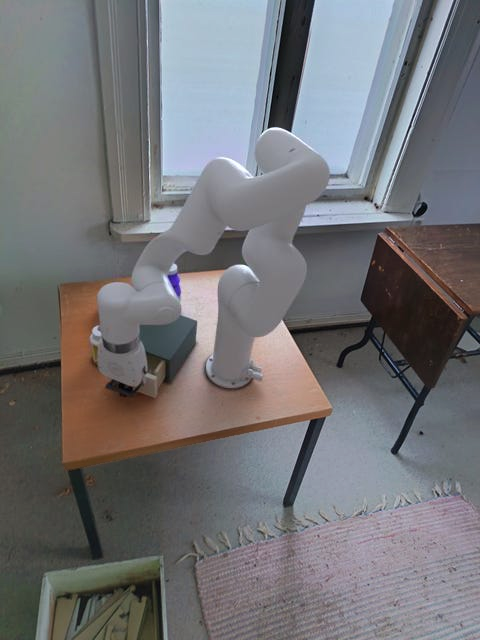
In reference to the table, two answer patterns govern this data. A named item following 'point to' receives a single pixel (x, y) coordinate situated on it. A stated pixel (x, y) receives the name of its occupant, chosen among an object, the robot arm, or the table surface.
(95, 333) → the supplement bottle
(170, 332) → the cabinet
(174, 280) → the bottle
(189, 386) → the table surface
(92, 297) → the table surface
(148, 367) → the drawer
